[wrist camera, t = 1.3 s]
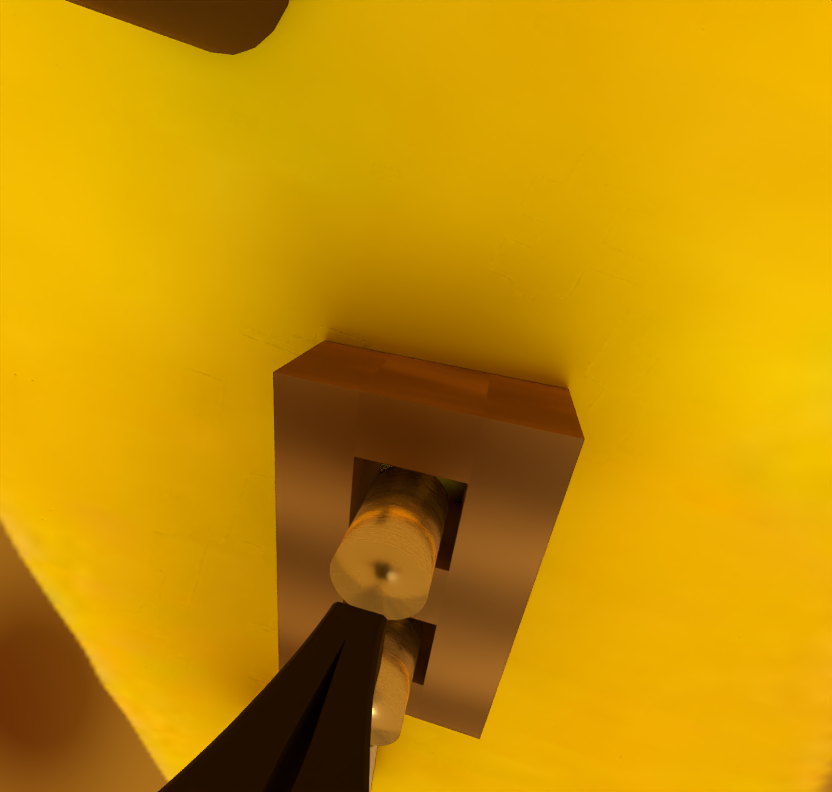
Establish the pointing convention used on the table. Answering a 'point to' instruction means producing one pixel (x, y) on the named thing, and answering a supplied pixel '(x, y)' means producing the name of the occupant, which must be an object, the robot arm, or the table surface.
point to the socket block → (465, 523)
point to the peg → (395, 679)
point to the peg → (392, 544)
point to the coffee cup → (199, 20)
